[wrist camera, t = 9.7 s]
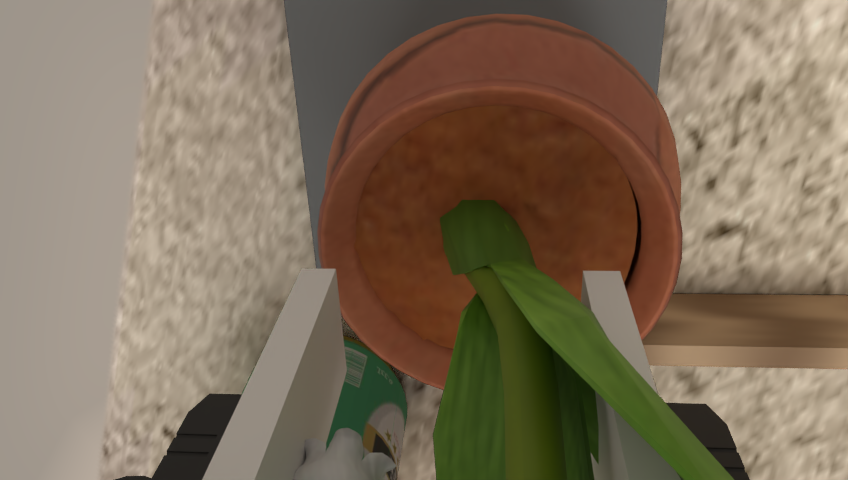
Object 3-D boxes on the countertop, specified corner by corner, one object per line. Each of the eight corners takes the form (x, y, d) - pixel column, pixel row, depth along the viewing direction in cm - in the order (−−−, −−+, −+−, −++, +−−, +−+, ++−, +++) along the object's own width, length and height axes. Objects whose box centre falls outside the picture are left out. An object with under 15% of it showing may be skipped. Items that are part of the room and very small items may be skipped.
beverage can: (415, 451, 38) (385, 676, 28) (267, 450, 39) (183, 668, 29) (402, 323, 35) (362, 527, 24) (239, 326, 36) (132, 523, 25)
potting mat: (321, 261, 33) (317, 272, 33) (282, -68, 27) (276, -66, 26) (633, 264, 32) (637, 275, 31) (669, -82, 26) (676, -80, 25)
